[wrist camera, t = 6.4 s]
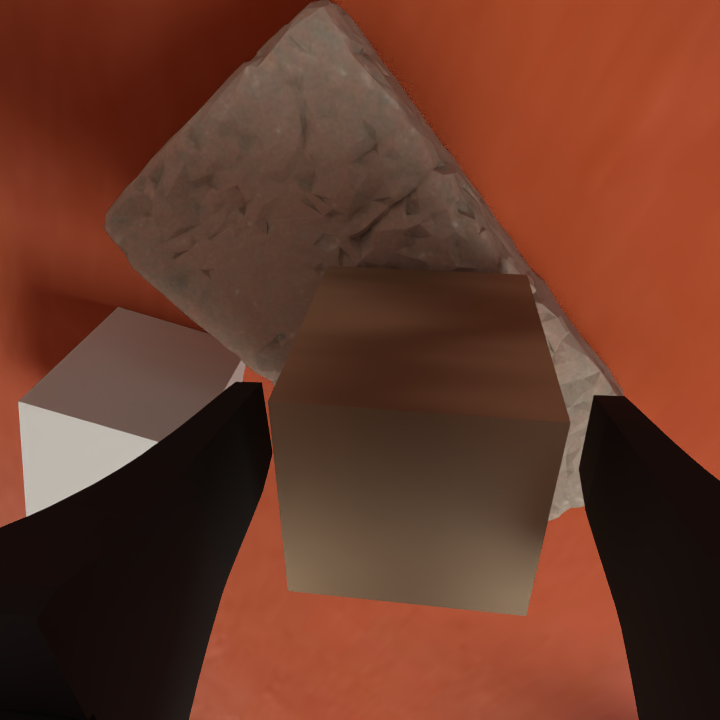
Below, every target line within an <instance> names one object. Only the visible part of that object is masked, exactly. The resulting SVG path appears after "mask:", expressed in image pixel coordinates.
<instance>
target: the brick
mask: <svg viewBox="0 0 720 720" xmlns="http://www.w3.org/2000/svg"><path fill="white" fill-rule="evenodd" d="M104 229H105V230H106V232H107V233H108V235H109V236H110V238H111V239H112V240H113V241H114V242H115V243H116V245H117V246H118V247H119V248H120V249H121V250H122V251H123V252H124V253H125V254H126V257H127V259H128V261H129V263H130V265H131V266H132V268H133V269H134V270H135V271H137V272H138V273H139V274H140V275H141V276H142V277H143V278H144V279H145V280H146V281H147V282H149V283H150V284H151V285H152V286H153V287H155V288H156V289H157V290H158V291H159V292H161V293H162V294H163V295H164V296H165V297H166V298H167V299H169V300H170V301H171V302H172V303H173V304H174V305H175V306H176V307H177V308H178V309H180V310H181V311H182V312H183V313H184V314H185V315H187V316H188V317H189V318H190V319H192V320H193V321H194V322H195V323H197V324H198V325H199V326H200V327H202V328H203V329H204V330H206V331H207V332H208V333H209V334H211V335H212V336H213V337H215V338H216V339H217V340H218V341H219V342H220V343H221V344H223V345H224V346H225V347H226V348H227V349H228V350H230V351H232V352H233V353H235V354H237V355H238V356H239V358H240V359H241V360H242V361H243V363H244V364H245V365H246V366H248V367H249V368H250V369H252V370H253V371H254V372H256V373H257V374H259V375H261V376H263V377H265V378H267V379H269V380H270V381H271V382H272V383H273V384H274V386H275V384H276V382H277V380H278V378H279V375H280V373H281V371H282V369H283V366H284V364H285V362H286V360H287V357H288V355H289V353H290V350H291V348H292V346H293V344H294V341H295V339H296V337H297V335H298V332H299V330H300V328H301V326H302V323H303V321H304V319H305V316H306V314H307V312H308V310H309V307H310V305H311V303H312V301H313V298H314V296H315V294H316V292H317V289H318V287H319V285H320V282H321V280H322V278H323V276H324V273H325V271H326V269H327V267H328V266H345V267H367V268H389V269H412V270H434V271H456V272H479V273H501V274H524V275H527V276H528V279H529V283H530V286H531V290H532V293H533V296H534V300H535V303H536V307H537V310H538V313H539V317H540V320H541V324H542V327H543V330H544V334H545V337H546V341H547V344H548V347H549V351H550V354H551V358H552V361H553V364H554V368H555V371H556V375H557V378H558V381H559V385H560V388H561V392H562V395H563V398H564V402H565V405H566V409H567V412H568V415H569V419H570V422H571V423H570V428H569V432H568V436H567V441H566V445H565V449H564V454H563V458H562V462H561V467H560V471H559V475H558V480H557V484H556V488H555V493H554V497H553V501H552V506H551V510H550V514H549V519H548V521H550V520H552V519H555V518H558V517H559V516H560V515H561V514H562V513H564V512H565V511H566V510H568V509H569V508H571V507H582V506H584V505H585V504H584V499H583V493H582V487H581V481H580V475H579V464H580V460H581V455H582V450H583V445H584V440H585V435H586V430H587V425H588V420H589V416H590V411H591V406H592V401H593V396H594V395H608V396H623V391H622V389H621V387H620V386H619V385H618V384H617V383H616V381H615V379H614V377H613V375H612V373H611V371H610V370H609V368H608V367H607V366H606V365H605V364H604V363H603V362H602V360H601V359H600V358H599V357H598V355H597V354H596V353H595V352H594V350H593V349H592V348H591V347H590V345H589V344H588V343H587V342H586V341H585V340H584V339H583V338H582V337H581V335H580V334H579V332H578V331H577V329H576V327H575V326H574V325H573V324H572V322H571V321H570V320H569V319H568V317H567V316H566V315H565V313H564V312H563V310H562V309H561V307H560V306H559V304H558V303H557V301H556V299H555V297H554V296H553V294H552V293H551V291H550V289H549V287H548V286H547V284H546V282H545V281H544V280H542V279H541V278H540V277H539V276H538V275H537V274H536V273H535V272H534V271H533V270H531V268H530V267H529V265H528V264H527V262H526V261H525V260H524V258H523V257H522V256H521V254H520V253H519V252H518V251H517V249H516V247H515V245H514V242H513V240H512V238H511V237H510V236H509V234H508V233H507V232H506V231H505V230H504V228H503V227H502V226H501V225H500V224H499V223H498V221H497V219H496V218H495V216H494V215H493V213H492V212H491V210H490V208H489V207H488V205H487V204H486V202H485V201H484V200H483V198H482V197H481V195H480V194H479V193H478V192H477V190H476V189H475V188H474V187H473V185H472V184H471V182H470V181H469V180H468V178H467V177H466V176H465V174H464V173H463V171H462V170H461V168H460V166H459V164H458V163H457V162H456V160H455V159H454V158H453V156H452V155H451V153H450V152H449V150H447V149H445V147H444V146H443V144H442V143H441V142H440V140H439V139H438V137H437V136H436V135H435V133H434V132H433V131H432V129H431V127H430V126H429V125H428V124H427V123H426V122H425V120H424V118H423V116H422V114H421V113H420V112H419V110H418V109H417V108H416V106H415V105H414V104H413V102H412V101H411V99H410V98H409V97H408V95H407V94H406V92H405V91H404V90H403V88H402V87H401V85H400V84H399V83H398V81H397V80H396V78H395V77H394V76H393V75H392V73H391V72H390V71H389V70H388V68H387V67H386V66H385V64H384V63H383V62H382V61H381V59H380V58H379V56H378V54H377V53H376V51H375V50H374V49H373V47H372V45H371V43H370V42H369V41H368V40H367V39H366V37H365V36H364V34H363V33H362V31H361V30H360V29H359V27H358V26H357V24H356V23H355V22H354V21H353V20H352V19H351V17H350V16H349V15H348V14H347V13H346V12H345V11H344V10H343V9H342V8H341V7H339V6H338V5H337V4H335V3H333V4H332V3H331V2H330V1H329V0H320V1H315V2H311V3H309V4H308V5H307V6H306V7H305V8H304V9H303V10H302V11H301V12H299V13H298V14H297V15H296V16H295V17H294V18H293V19H292V20H291V21H290V23H289V24H287V25H284V26H283V27H282V28H281V29H280V30H279V31H278V32H277V33H276V34H275V35H274V36H272V37H271V38H270V39H269V40H268V41H267V42H266V43H265V44H264V45H263V46H262V47H261V48H260V49H259V50H258V52H257V54H256V56H255V57H254V58H253V59H252V60H251V61H248V62H244V63H243V64H242V65H241V66H240V67H239V68H238V69H237V70H235V71H234V72H233V73H232V74H231V75H230V76H229V78H228V79H227V80H226V81H225V82H224V83H223V84H222V85H221V86H220V88H219V89H218V90H217V91H216V92H215V93H214V94H213V95H212V96H211V98H210V99H209V100H208V101H207V102H206V103H205V104H204V105H203V106H202V107H201V109H200V110H199V111H198V112H197V113H196V114H195V115H194V116H193V117H192V118H191V119H190V120H189V121H188V122H187V123H186V124H185V125H184V126H183V127H182V128H181V129H180V130H179V131H178V132H176V133H175V134H174V135H173V136H172V137H171V138H170V139H169V140H168V141H167V142H166V143H165V144H164V146H163V147H162V148H161V149H160V150H159V151H158V152H157V153H156V154H155V155H154V157H153V158H152V159H151V160H150V161H149V162H148V164H147V165H146V166H145V167H144V169H143V170H142V171H141V172H140V174H139V175H138V176H137V177H136V178H135V179H134V180H133V181H132V182H131V183H130V184H129V185H128V186H127V187H126V188H125V189H124V191H123V192H122V194H121V195H120V196H119V197H118V198H117V200H116V201H115V202H114V203H113V204H112V206H111V207H110V208H109V210H108V212H107V214H106V219H105V226H104Z"/></svg>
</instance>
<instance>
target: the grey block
mask: <svg viewBox="0 0 720 720" xmlns="http://www.w3.org/2000/svg"><path fill="white" fill-rule="evenodd" d="M244 370H245V364H244V363H243V361H242V360H241V359H240V358H239V356H238V355H237V354H235V353H233V352H232V351H230V350H228V349H227V348H226V347H225V346H224V345H223V344H221V343H220V342H219V341H218V340H217V339H216V338H215V337H213V336H212V335H211V334H208V333H205V332H201V331H198V330H195V329H191V328H188V327H185V326H181V325H178V324H175V323H171V322H168V321H164V320H161V319H158V318H154V317H151V316H148V315H144V314H141V313H138V312H134V311H131V310H127V309H124V308H121V307H117V308H116V309H115V310H114V311H113V312H112V313H111V314H110V315H109V316H108V317H107V318H106V319H105V320H104V321H103V322H102V323H100V324H99V325H98V326H97V327H96V328H95V329H94V330H93V331H92V332H91V333H90V334H89V335H88V336H87V337H86V338H85V339H84V340H83V341H81V342H80V343H79V344H78V345H77V346H76V347H75V348H74V349H73V350H72V351H71V352H70V353H69V354H68V355H67V356H66V357H65V358H64V359H62V360H61V361H60V362H59V363H58V364H57V365H56V366H55V367H54V368H53V369H52V370H51V371H50V372H49V373H48V374H47V375H46V376H45V377H44V378H42V379H41V380H40V381H39V382H38V383H37V384H36V385H35V386H34V387H33V388H32V389H31V390H30V391H29V392H28V393H27V394H26V395H25V396H23V397H22V398H21V399H20V400H19V401H18V404H19V418H20V432H21V446H22V461H23V475H24V489H25V503H26V517H27V516H29V515H32V514H34V513H36V512H38V511H40V510H43V509H45V508H47V507H49V506H51V505H53V504H55V503H57V502H59V501H61V500H63V499H65V498H67V497H69V496H71V495H73V494H75V493H77V492H79V491H81V490H83V489H85V488H87V487H89V486H91V485H92V484H94V483H96V482H98V481H100V480H101V479H103V478H105V477H106V476H108V475H110V474H111V473H113V472H115V471H116V470H118V469H120V468H121V467H123V466H125V465H126V464H128V463H129V462H131V461H132V460H134V459H135V458H137V457H138V456H140V455H141V454H143V453H144V452H146V451H147V450H148V449H150V448H151V447H153V446H154V445H155V444H157V443H158V442H159V441H161V440H162V439H164V438H165V437H166V436H168V435H169V434H171V433H172V432H173V431H175V430H176V429H177V428H179V427H180V426H181V425H182V424H184V423H185V422H186V421H187V420H189V419H190V418H191V417H192V416H194V415H195V414H196V413H197V412H199V411H200V410H201V409H202V408H204V407H205V406H206V405H207V404H208V403H210V402H211V401H212V400H213V399H214V398H216V397H217V396H218V395H219V394H221V393H222V392H223V391H224V390H226V389H227V388H228V387H229V386H231V385H232V384H233V383H235V382H242V381H243V376H244Z"/></svg>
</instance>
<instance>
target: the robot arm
mask: <svg viewBox="0 0 720 720" xmlns="http://www.w3.org/2000/svg"><path fill="white" fill-rule="evenodd" d="M271 457H272V446H271V440H270V433H269V427H268V420H267V414H266V407H265V401H264V394H263V388H262V383H257V382H235V383H233V384H232V385H231V386H229V387H228V388H227V389H226V390H224V391H223V392H222V393H221V394H219V395H218V396H217V397H216V398H214V399H213V400H212V401H211V402H210V403H208V404H207V405H206V406H205V407H204V408H202V409H201V410H200V411H199V412H197V413H196V414H195V415H194V416H192V417H191V418H190V419H189V420H187V421H186V422H185V423H184V424H182V425H181V426H180V427H179V428H177V429H176V430H175V431H173V432H172V433H171V434H169V435H168V436H166V437H165V438H164V439H162V440H161V441H159V442H158V443H157V444H155V445H154V446H153V447H151V448H150V449H148V450H147V451H146V452H144V453H143V454H141V455H140V456H138V457H137V458H135V459H134V460H132V461H131V462H129V463H128V464H126V465H125V466H123V467H121V468H120V469H118V470H116V471H115V472H113V473H111V474H110V475H108V476H106V477H105V478H103V479H101V480H100V481H98V482H96V483H94V484H92V485H91V486H89V487H87V488H85V489H83V490H81V491H79V492H77V493H75V494H73V495H71V496H69V497H67V498H65V499H63V500H61V501H59V502H57V503H55V504H53V505H51V506H49V507H47V508H45V509H43V510H40V511H38V512H36V513H34V514H32V515H29V516H27V517H25V518H22V519H20V520H18V521H15V522H13V523H10V524H8V525H5V526H3V527H1V528H0V720H189V716H190V712H191V708H192V704H193V700H194V696H195V692H196V687H197V683H198V679H199V675H200V672H201V668H202V664H203V660H204V657H205V653H206V649H207V645H208V642H209V638H210V634H211V631H212V627H213V624H214V620H215V617H216V613H217V610H218V607H219V603H220V600H221V596H222V593H223V590H224V587H225V585H226V582H227V579H228V576H229V573H230V571H231V569H232V566H233V564H234V561H235V559H236V556H237V554H238V551H239V549H240V547H241V544H242V542H243V539H244V537H245V534H246V532H247V529H248V527H249V525H250V522H251V520H252V517H253V515H254V512H255V510H256V507H257V505H258V502H259V500H260V497H261V494H262V492H263V488H264V485H265V481H266V477H267V473H268V469H269V465H270V461H271ZM579 475H580V481H581V487H582V493H583V499H584V504H585V510H586V514H587V517H588V520H589V524H590V527H591V530H592V533H593V537H594V540H595V543H596V546H597V549H598V553H599V556H600V559H601V562H602V565H603V568H604V571H605V575H606V578H607V581H608V584H609V587H610V590H611V594H612V597H613V600H614V603H615V606H616V610H617V614H618V617H619V621H620V625H621V629H622V634H623V639H624V644H625V649H626V654H627V659H628V664H629V668H630V673H631V679H632V684H633V690H634V695H635V701H636V706H637V712H638V717H639V720H720V481H719V480H718V479H716V478H715V477H714V476H713V475H711V474H710V473H709V472H708V471H706V470H705V469H704V468H703V467H702V466H701V465H699V464H698V463H697V462H696V461H695V460H693V459H692V458H691V457H690V456H689V455H688V454H687V453H685V452H684V451H683V450H682V449H681V448H680V447H679V446H678V445H676V444H675V443H674V442H673V441H672V440H671V439H670V438H669V437H668V436H667V435H665V434H664V433H663V432H662V431H661V430H660V429H659V428H658V427H657V426H656V425H655V424H654V423H653V422H652V421H651V420H649V419H648V418H647V417H646V416H645V415H644V414H643V413H642V412H641V411H640V410H639V409H638V408H637V407H636V406H635V405H634V404H632V403H631V402H630V401H629V400H628V399H627V398H626V397H625V396H608V395H594V396H593V401H592V406H591V411H590V416H589V420H588V425H587V430H586V435H585V440H584V445H583V450H582V455H581V460H580V464H579Z"/></svg>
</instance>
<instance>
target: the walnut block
mask: <svg viewBox="0 0 720 720" xmlns="http://www.w3.org/2000/svg"><path fill="white" fill-rule="evenodd" d="M268 406H269V415H270V424H271V434H272V443H273V453H274V462H275V472H276V481H277V491H278V500H279V509H280V519H281V528H282V538H283V547H284V557H285V566H286V576H287V585H288V591H295V592H304V593H313V594H323V595H332V596H342V597H351V598H361V599H370V600H380V601H389V602H399V603H408V604H417V605H427V606H436V607H446V608H455V609H465V610H474V611H484V612H493V613H503V614H512V615H522V616H526V614H527V609H528V605H529V601H530V596H531V592H532V588H533V583H534V579H535V575H536V570H537V566H538V562H539V557H540V553H541V549H542V544H543V540H544V536H545V531H546V527H547V523H548V519H549V514H550V510H551V506H552V501H553V497H554V493H555V488H556V484H557V480H558V475H559V471H560V467H561V462H562V458H563V454H564V449H565V445H566V441H567V436H568V432H569V428H570V423H571V422H570V419H569V415H568V412H567V409H566V405H565V402H564V398H563V395H562V392H561V388H560V385H559V381H558V378H557V375H556V371H555V368H554V364H553V361H552V358H551V354H550V351H549V347H548V344H547V341H546V337H545V334H544V330H543V327H542V324H541V320H540V317H539V313H538V310H537V307H536V303H535V300H534V296H533V293H532V290H531V286H530V283H529V279H528V276H527V275H524V274H501V273H479V272H456V271H434V270H412V269H389V268H367V267H345V266H328V267H327V269H326V271H325V273H324V276H323V278H322V280H321V282H320V285H319V287H318V289H317V292H316V294H315V296H314V298H313V301H312V303H311V305H310V307H309V310H308V312H307V314H306V316H305V319H304V321H303V323H302V326H301V328H300V330H299V332H298V335H297V337H296V339H295V341H294V344H293V346H292V348H291V350H290V353H289V355H288V357H287V360H286V362H285V364H284V366H283V369H282V371H281V373H280V375H279V378H278V380H277V382H276V384H275V387H274V389H273V391H272V394H271V396H270V398H269V400H268Z"/></svg>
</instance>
